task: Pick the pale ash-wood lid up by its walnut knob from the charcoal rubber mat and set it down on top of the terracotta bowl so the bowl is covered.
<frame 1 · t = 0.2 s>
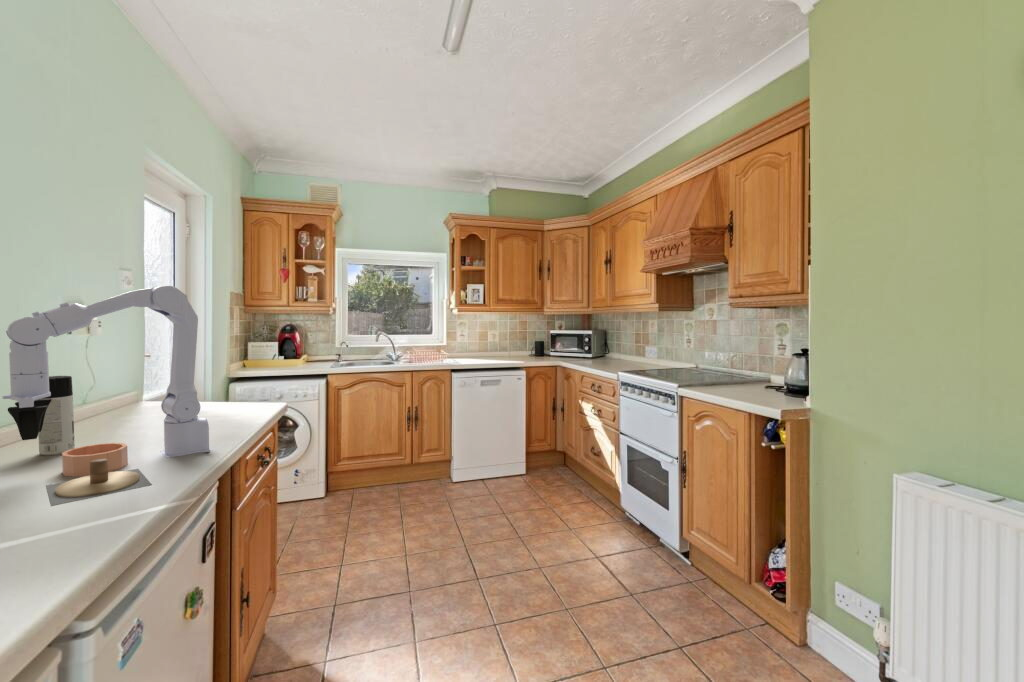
hand: (32, 435, 98), 10 cm above the countertop, fingers open, 7 cm apart
spray can: (57, 453, 119), on the countertop
bowl: (96, 470, 106), on the countertop
lid: (99, 485, 95), point 1 cm above the countertop, touching mat
mat: (99, 487, 95), on the countertop
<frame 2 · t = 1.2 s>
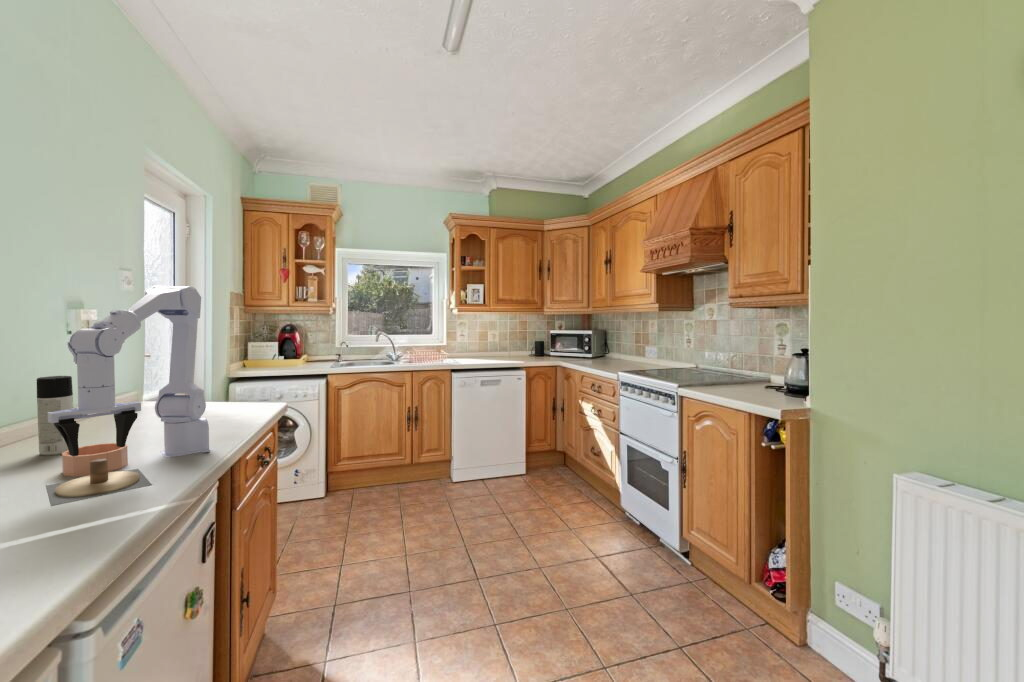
hand: (98, 450, 95), 8 cm above the countertop, fingers open, 7 cm apart
nothing on the countertop moved.
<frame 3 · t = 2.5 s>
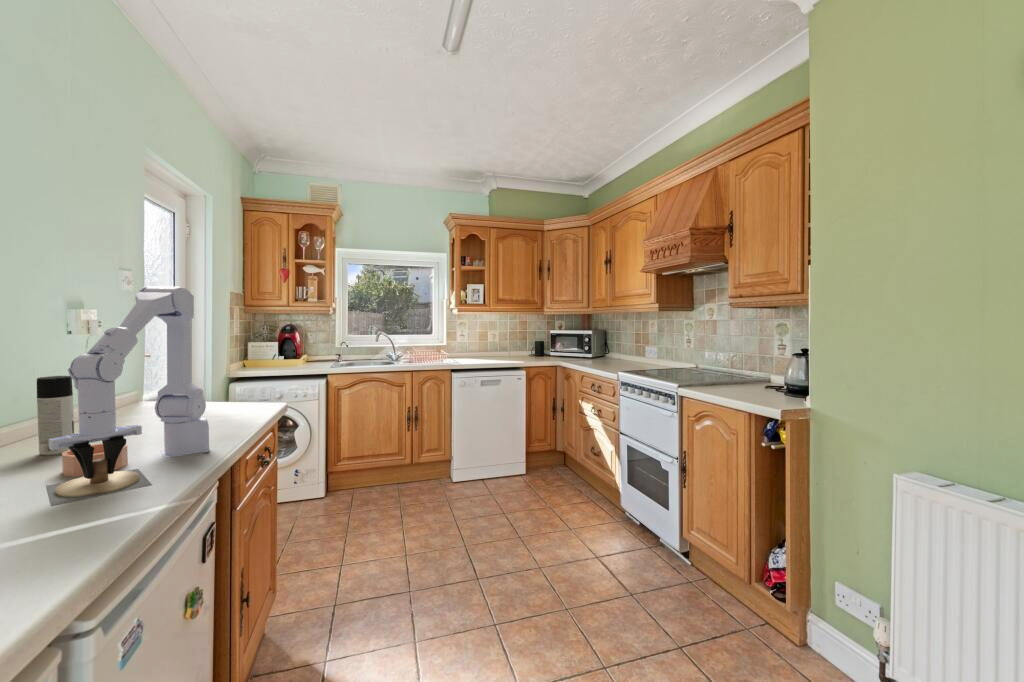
hand: (99, 475, 95), 3 cm above the countertop, fingers closed on lid, 3 cm apart
lid: (99, 485, 95), point 1 cm above the countertop, touching gripper, mat
everything else where it was.
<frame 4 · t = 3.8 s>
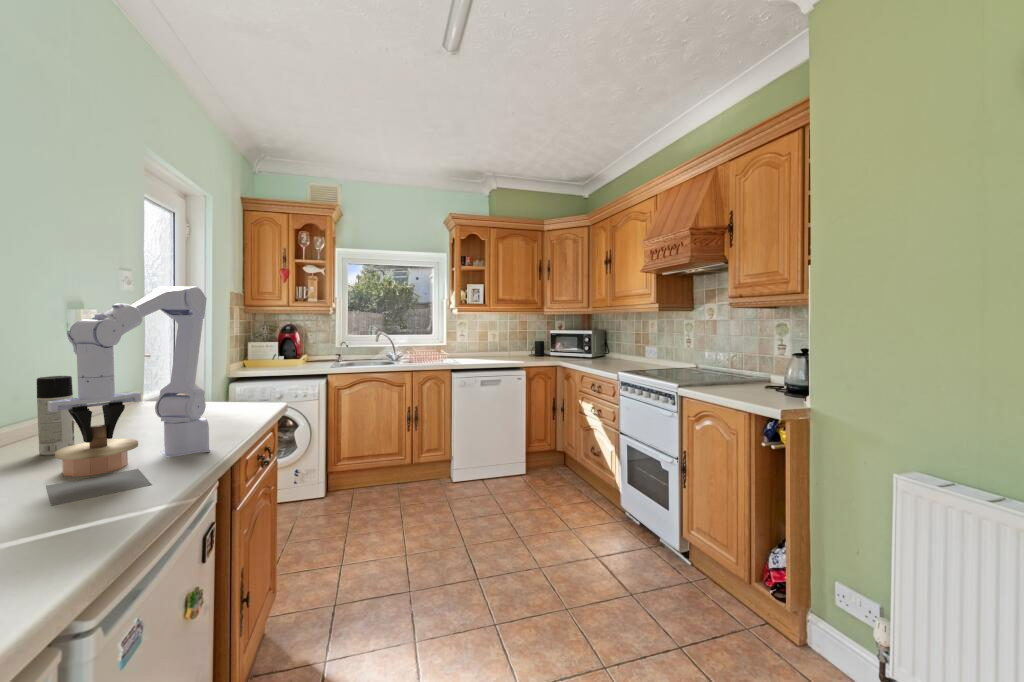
hand: (98, 439, 96), 10 cm above the countertop, fingers closed on lid, 3 cm apart
lid: (98, 450, 96), point 8 cm above the countertop, touching gripper
everything else where it was.
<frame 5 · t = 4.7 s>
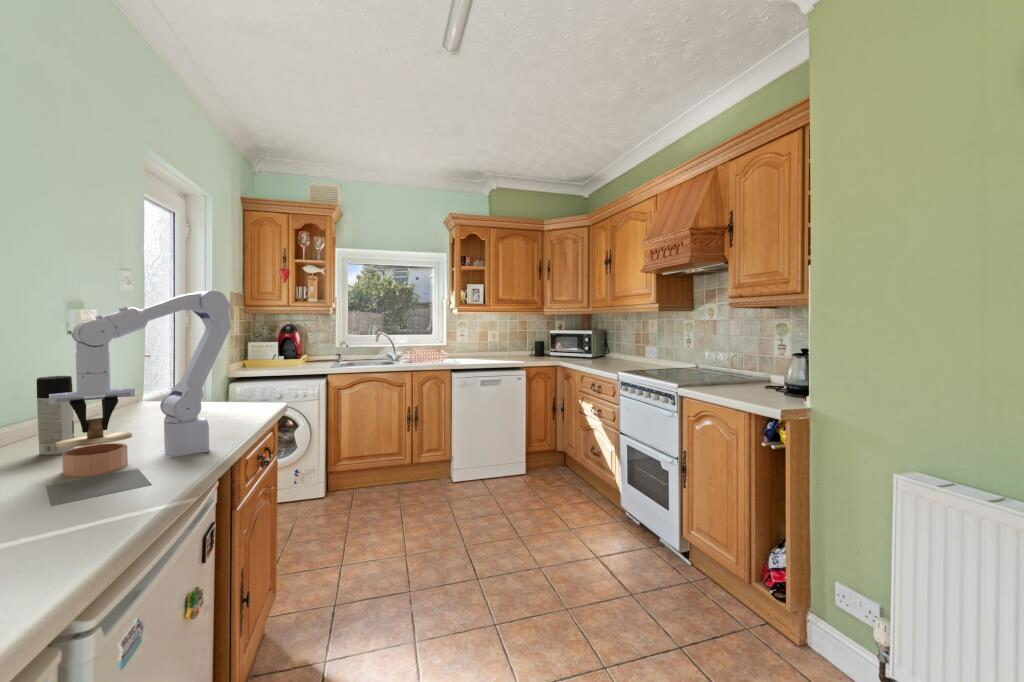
hand: (94, 430, 105), 9 cm above the countertop, fingers closed on lid, 3 cm apart
lid: (95, 441, 105), point 7 cm above the countertop, tilted 5°, touching gripper
everything else where it was.
when the fingers open (8 cm above the countertop, at t = 5.2 s): lid stays where it is, resting on bowl.
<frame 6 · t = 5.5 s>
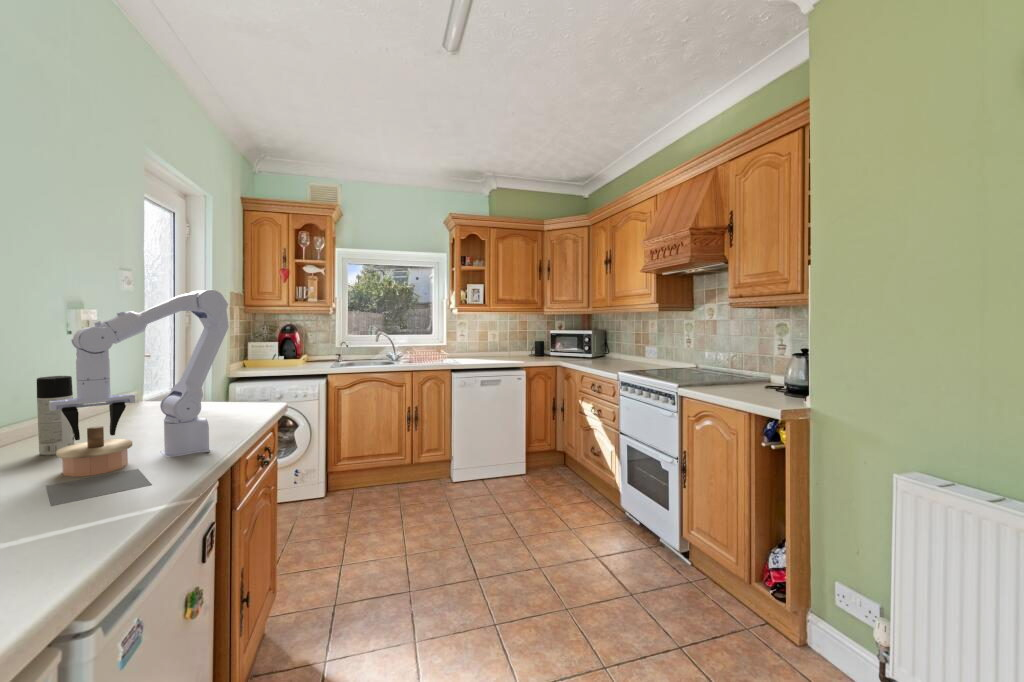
hand: (95, 437, 105), 8 cm above the countertop, fingers open, 5 cm apart
bowl: (96, 470, 106), on the countertop, touching lid
lid: (95, 449, 105), point 5 cm above the countertop, touching bowl
everything else where it was.
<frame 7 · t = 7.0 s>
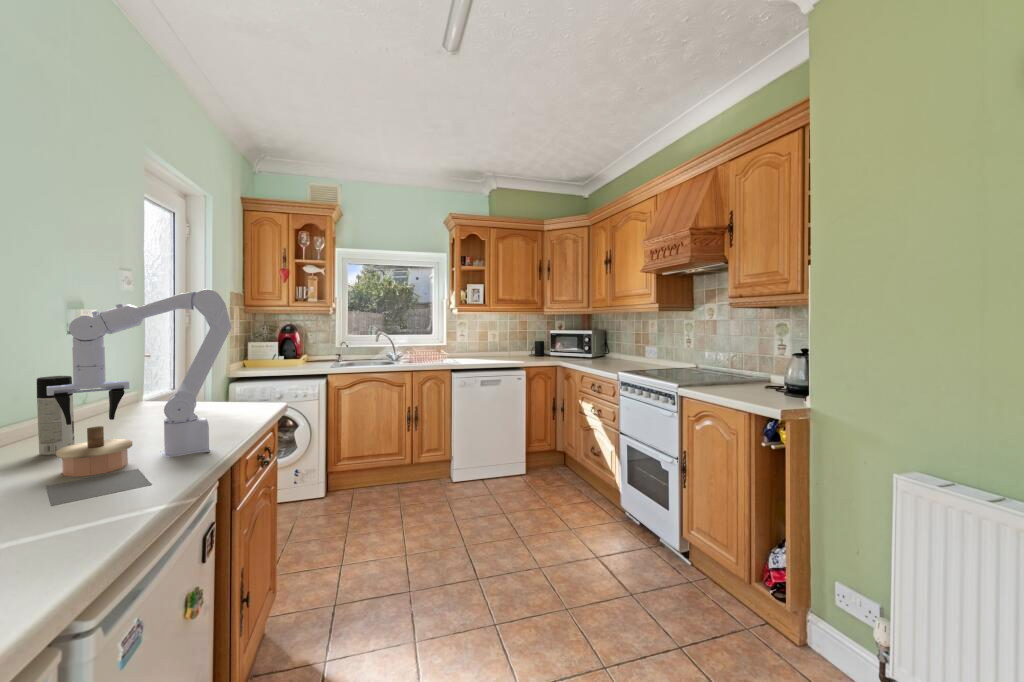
hand: (90, 421, 110), 10 cm above the countertop, fingers open, 7 cm apart
nothing on the countertop moved.
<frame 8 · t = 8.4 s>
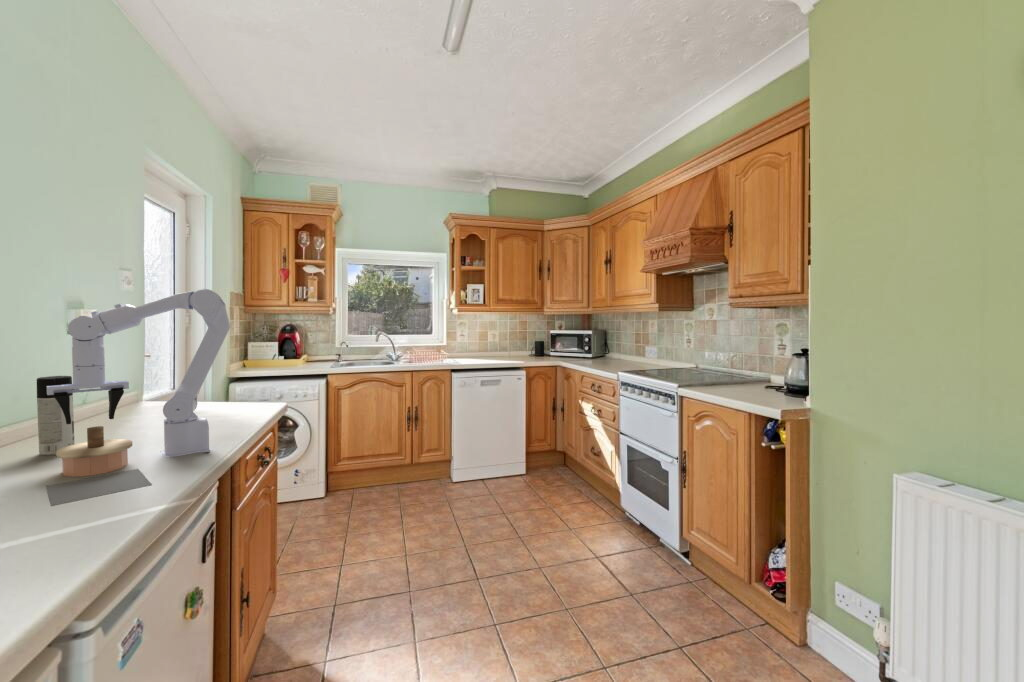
hand: (90, 421, 111), 10 cm above the countertop, fingers open, 7 cm apart
nothing on the countertop moved.
at the end: lid 0.6 cm from the bowl (horizontally); lid point 5.0 cm above the countertop; lid tilted 0° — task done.
